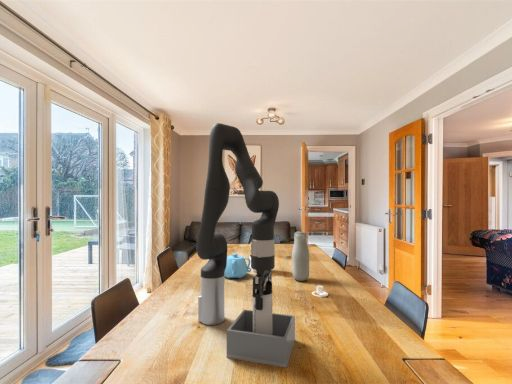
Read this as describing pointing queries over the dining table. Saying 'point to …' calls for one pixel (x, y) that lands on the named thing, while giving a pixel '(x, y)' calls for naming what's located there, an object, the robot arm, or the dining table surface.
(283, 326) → the crate
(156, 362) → the dining table surface
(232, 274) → the decorative pot
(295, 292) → the dining table surface
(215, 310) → the robot arm
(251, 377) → the dining table surface
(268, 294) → the travel mug
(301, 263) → the grey bottle
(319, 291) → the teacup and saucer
